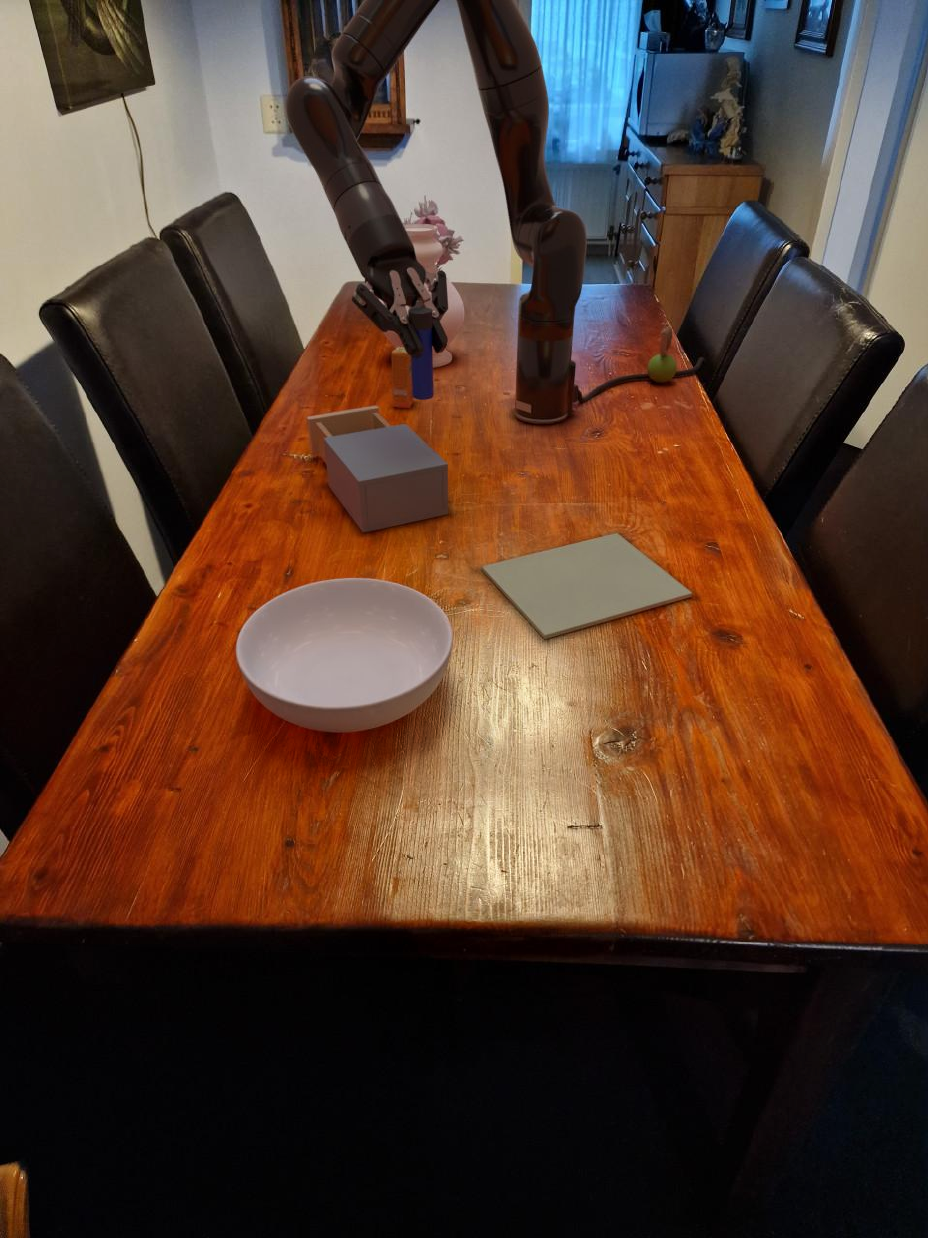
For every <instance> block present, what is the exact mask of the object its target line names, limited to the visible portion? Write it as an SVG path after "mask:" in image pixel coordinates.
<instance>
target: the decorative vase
mask: <svg viewBox="0 0 928 1238" xmlns="http://www.w3.org/2000/svg"><path fill="white" fill-rule="evenodd" d="M404 227H405V230H406V232H407V234H408V236H409V238H410V240H411V242H412V244H413V246H414V249H415V255H416V259H417V261H418V262H419V263H420V264H421V265H422V266H423V267H424V269H425V271H426V272H430V273H434V274H437V272H438V271H439V268H437V267H436V266H435V265H436V264H437V261H438V260H439V259H440V257H441V256H442V253H443V248H442V245H441V244H440V242H439V241H438V240H436V239H435V238H434V237H433V234H435V233H437V234H438V230H437V226H434V225H429V224H412V223H411V224H409V225H404ZM446 280H447V295H448V310H447V311H446V312H445V314H444V315H443V317H442V319H441V320H440V323H441V325H442V327H443V329H444V331H445V334H446V335H447V337H448V342H447V347H446V348H445V349H444V351H443V352H441V353H436V352H435V350H434V348H433V346H432V353H433V369H434V368H440V367H444V366H445V365H448V364H449V363H451V362H452V361H453V355H452V353H451V352H450V351H448V350H447V348H448V347H449V346H450V345H451V343H452V342H453V341H454V339H455V338H456V337H457V335H458V334H459V332H461V331H460V330H461V329H462V327H463V325H464V322H465V314H466V313H465V306H464V302H463V299H462V297H461V295H460V293H459V291H458V290H457V289H456V287H455V285H454V284H453V283H452V282H451V280H450V279H449V278H448V277H447V276H446ZM424 286H425V288H426V289H427V291H428V287H427V284H426V283H424ZM428 293H429V294H430V296H431V292H429V291H428ZM378 299H379V298H378ZM379 301H380V302H381V303H382V304H383V305H384V302H383V301H382V300H380V299H379ZM417 302H418V301H417ZM431 302H432V300H431ZM409 309H410V308H409V306H406V311H407V314H408V310H409ZM408 323H409V322H408ZM382 334H383V335H384V336H385V338H386V339H387V340H388V341H389V343H391V344H392V345H393V347H394V348H395V349H396V347H404V346H403V344H402V342H401V340H400V338H399V335H398V334H396V333H395V332H394V331H389V330H388V331H387V332H382Z"/></svg>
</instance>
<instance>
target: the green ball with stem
mask: <svg viewBox="0 0 928 1238" xmlns="http://www.w3.org/2000/svg"><path fill="white" fill-rule="evenodd" d="M661 326H662V327H664V328H662V329H661V331H660V340H659V353H657V354H655V355H654V356H652V357H651V359H650V360H649V362H648V363H647V367H646V369H647V374H648V375H649V377H650V379H651V380H652V381H653V382H655V383H658V384H664V383H668V382H669V381H670V380H672V379H673V378H674V377H675V376H674V375H675V373H676V371H677V369H678V368H677V366H678V365H677V362H676V360H675V358H674V357H673V356H672V355H670V354H669V349H670V347H671V344H672V340H673V328H672V327H671V326H669V323H665V322H662V323H661Z"/></svg>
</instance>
